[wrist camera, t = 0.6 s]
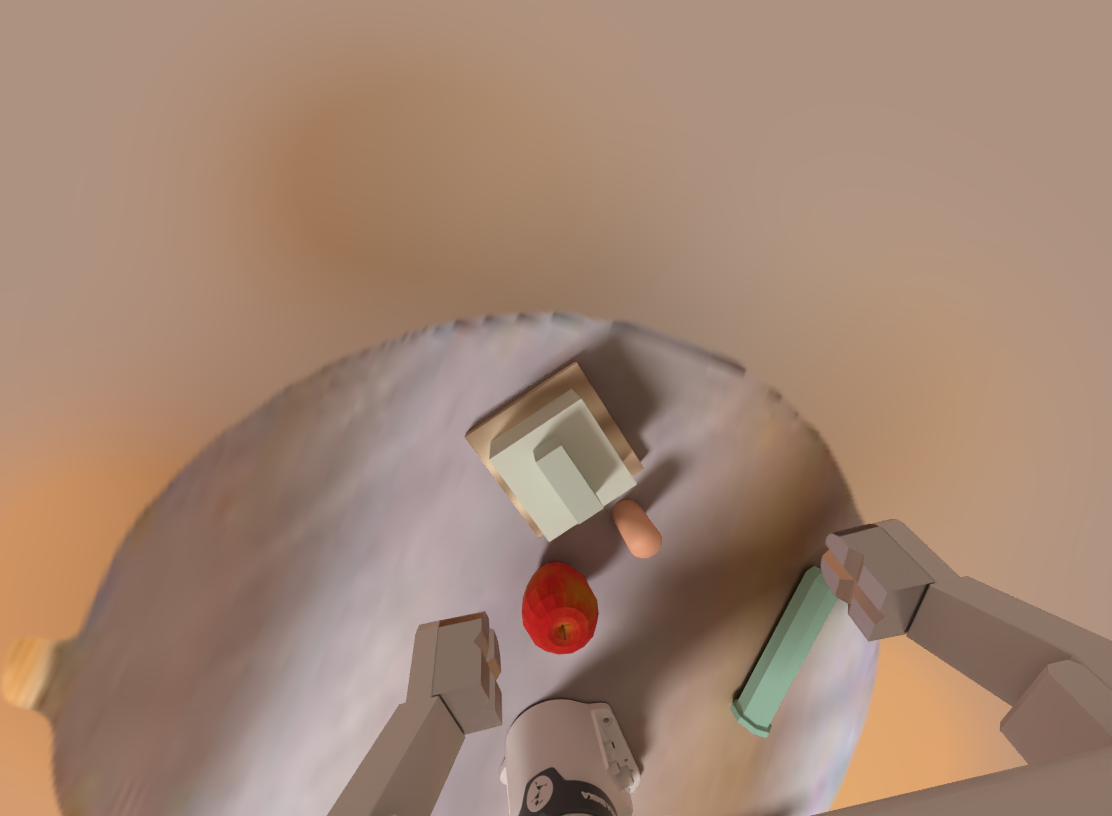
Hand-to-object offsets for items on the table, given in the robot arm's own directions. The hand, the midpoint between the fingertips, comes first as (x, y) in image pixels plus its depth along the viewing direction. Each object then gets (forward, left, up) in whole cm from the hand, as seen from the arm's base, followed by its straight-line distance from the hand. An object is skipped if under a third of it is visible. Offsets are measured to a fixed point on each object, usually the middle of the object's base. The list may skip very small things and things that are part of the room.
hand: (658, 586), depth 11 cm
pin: (-23, 0, -46) cm, 51 cm away
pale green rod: (-53, -9, -46) cm, 71 cm away
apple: (-25, +13, -46) cm, 54 cm away
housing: (-10, +3, -44) cm, 45 cm away
